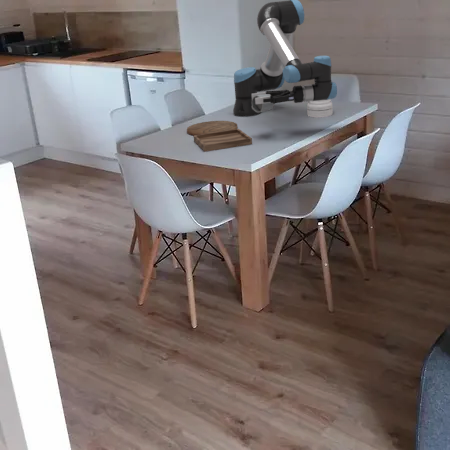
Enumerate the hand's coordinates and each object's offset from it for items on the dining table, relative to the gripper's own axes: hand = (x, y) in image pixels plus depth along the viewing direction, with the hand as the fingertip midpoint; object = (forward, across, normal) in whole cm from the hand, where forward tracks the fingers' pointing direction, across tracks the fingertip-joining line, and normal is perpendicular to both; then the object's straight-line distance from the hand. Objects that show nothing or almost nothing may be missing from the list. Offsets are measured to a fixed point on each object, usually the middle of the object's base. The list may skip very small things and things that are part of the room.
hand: (253, 98), depth 284 cm
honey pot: (-38, +32, -18) cm, 53 cm away
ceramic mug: (-4, +1, -6) cm, 7 cm away
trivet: (+18, +24, -18) cm, 35 cm away
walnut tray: (+16, -2, -18) cm, 24 cm away
